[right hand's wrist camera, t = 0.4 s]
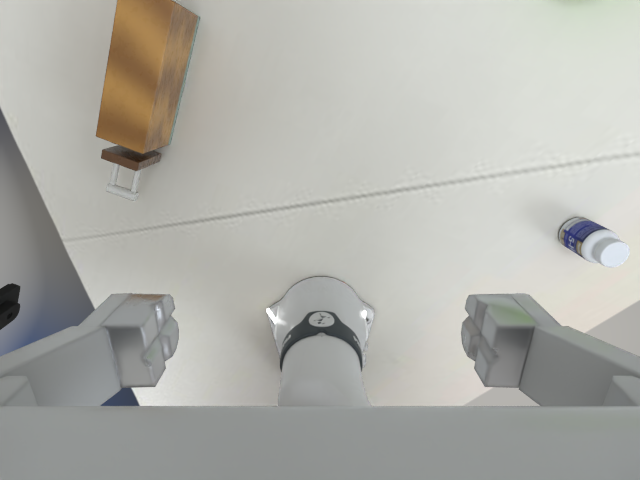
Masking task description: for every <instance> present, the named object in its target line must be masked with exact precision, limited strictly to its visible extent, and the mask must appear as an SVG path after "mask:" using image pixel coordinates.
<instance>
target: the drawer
mask: <svg viewBox="0 0 640 480" xmlns="http://www.w3.org/2000/svg"><path fill="white" fill-rule="evenodd" d="M112 143H113V142H112ZM160 157H161V154H160V153H157V152H155V151H149V152H146V153H143V154H142V153H139V152H137V151H134V150H131V149H129V148H126V147H123V146H121V145H118V146H114V147H110V148H107V149H103V150H102V155H101V158H102V159H105V160H107V161H110V162H113V163H114V164H113V169H112V175H111V180H110V183H109V184H108V185H107V187H106V191H107V192H110V193H112V194H115V195H118V196H121V197H124V198H127V199H129V200H132V201H136V200H137V198H138V195H139V194H138V193H137V188H138V183H139V178H140V174H141V169H143V168H146V167H148V166H150V165H152V164H155V163H157V162H159V161H160ZM120 165H121V166H124V167H127V168H129V169H132V170H135V174H134V178H133V183H132V188H131V190H129V189H126V188H123V187H120V186H118V185H116V181H117V176H118V171H119V166H120Z"/></svg>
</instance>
